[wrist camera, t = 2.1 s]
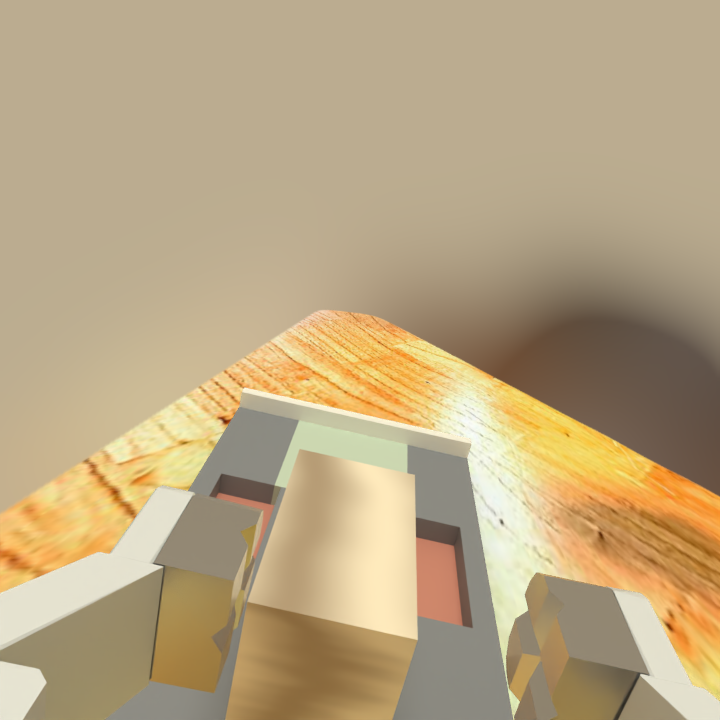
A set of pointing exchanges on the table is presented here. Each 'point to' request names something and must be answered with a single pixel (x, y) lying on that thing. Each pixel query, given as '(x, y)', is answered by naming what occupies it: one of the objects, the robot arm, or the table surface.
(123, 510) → the table surface
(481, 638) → the trap runway
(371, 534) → the maple block
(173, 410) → the table surface
